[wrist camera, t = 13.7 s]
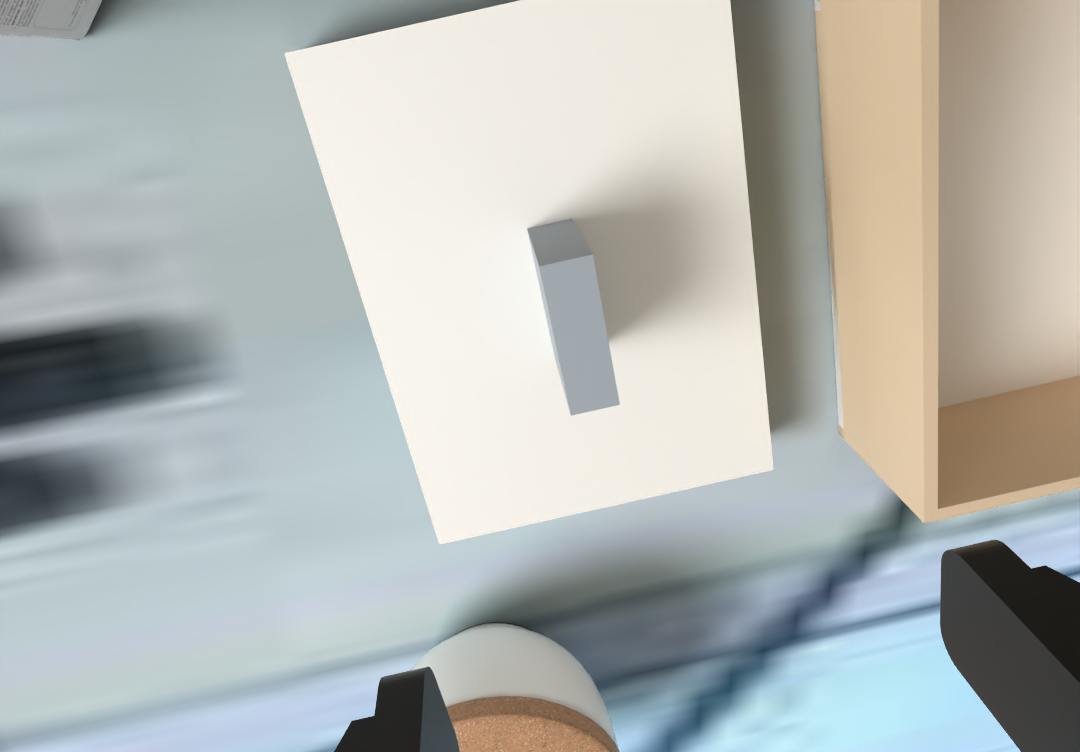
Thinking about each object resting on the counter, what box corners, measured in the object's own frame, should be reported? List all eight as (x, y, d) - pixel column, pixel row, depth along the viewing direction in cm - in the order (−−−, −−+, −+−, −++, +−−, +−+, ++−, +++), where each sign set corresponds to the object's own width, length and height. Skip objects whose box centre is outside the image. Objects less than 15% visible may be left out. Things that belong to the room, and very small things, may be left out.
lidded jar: (451, 777, 41) (447, 972, 32) (341, 641, 37) (303, 825, 28) (634, 697, 40) (680, 878, 31) (542, 548, 36) (567, 710, 27)
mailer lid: (300, 52, 26) (241, 55, 20) (703, -39, 26) (786, -67, 20) (441, 511, 34) (434, 628, 27) (752, 441, 34) (824, 541, 27)
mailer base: (813, -5, 27) (920, -20, 21) (1174, -89, 27) (1393, -129, 21) (839, 434, 34) (924, 523, 28) (1123, 368, 34) (1273, 443, 28)
